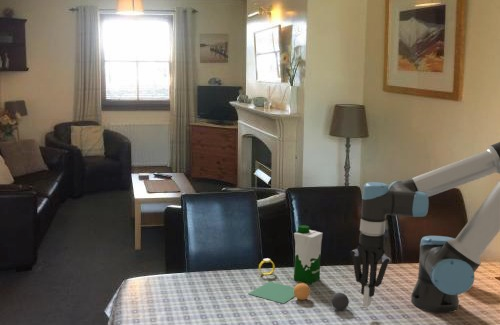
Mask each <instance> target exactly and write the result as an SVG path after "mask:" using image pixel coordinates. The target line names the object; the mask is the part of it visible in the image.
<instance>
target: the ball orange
mask: <svg viewBox="0 0 500 325" xmlns="http://www.w3.org/2000/svg"><path fill="white" fill-rule="evenodd" d="M293 288H294V295H295V298H296V299H297V300H300V301H303V300H307V299H308V298H309V296H310V294H311V289H310V287H309V284H306V283H303V282H299V283H298V284H296V285H295V286H294V287H293Z"/></svg>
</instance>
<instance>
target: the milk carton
mask: <svg viewBox="0 0 500 325" xmlns="http://www.w3.org/2000/svg"><path fill="white" fill-rule="evenodd" d="M293 236H294V244H295V246H294V247H295V248H294V250H295V251H294V270H293V271H294V272H293V281H296V282H299V283H304V284H306V285H311V284H313V283H316V282H318V281H320V277H321V256H322V255H321V253H322V252H321V251H322V240H323V232H320V231H317V230H312V229H310V226H309V225H306V224H300V225H298V226H297V231H296V232H294V233H293Z"/></svg>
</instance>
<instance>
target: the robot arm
mask: <svg viewBox="0 0 500 325" xmlns="http://www.w3.org/2000/svg"><path fill="white" fill-rule="evenodd" d="M495 173H497V174H499V175H500V141H499V142H496V143H494V144H491V145H489V146H487V148H486V150H484V151H482V152H479V153H476V154H473V155H471V156H468V157H465V158H463V159H461V160H457V161H454V162H452V163H449V164H446V165H443V166H441V167H439V168H435V169H433V170H431V171H427V172H425V173H422V174H419V175H417V176H414V177H412V178H409V179H405V180H403V181H402V180H396V181H393V182H391V183H389V185H388V184H387V183H385V182H384V183H383V182H379V181H369V182H366V183H364V184H363V188H362V195H361V207H360V208H361V210H360V211H361V212H360V224H359V231H360V232H359V236H358V240H359V241H358V246H357V248H355V249H352V250H351V251H350V252H349V254H350V256H351V258H352V263H353V270H354V271H353V272H354V276H355V282H357V283H359V284H361V290H360V294H361V295H363V298H362V299H363V303H362V306H363V307H365V308H368V307H370V305H371V304H372V298H373V297H374V296H375V289H376V288H377V287H380V285H382V282H383V279H384V277H385V274H386V270H387V268H388V265H389V264H390V263H391V262H392V257H390V256H389V257H388V255H387V254H386V252H385V249H384V247H385V232H386V221H387V220H386V218H387V215H388V216H399V217H401V216H402V217H413V218H422V217H423V218H424V217H426V216H427V214H428V211H429V207H430V206H429V204H430V203H429V202H430V201H429V197H432V196H435V195H438V194H440V193H443V192H446V191H448V190H452V189H454V188H457V187H459V186H462V185H466V184H468V183H471V182H474V181H476V180H480V179H481V178H485V177H487V176H491V175H493V174H495ZM499 232H500V180H498V182H497V183H496V185H494V187H493V188H492V190H491V191H490V193H489V194H488V195H487V196H486V197H485V199H484V200H483V202H482V203H481V205H480V206H479V207H478V208H477V210H476V211H475V212H474V213H473V215H472V216H471V217H470V219H469V220H468V221H467V223H466V224H465V225H464V227H463V228H462V229H461V230H460V232H459V233H458V234H457V236H456V237H455V238H454V237H449V236H442V235H426V236H423V237H422V238H421V239H420V244H419V260H418V273H417V274H418V277H417V281H416V284H415V286H413V287H414V288H413V290H412V292H411V299H410V300H411V304H412V305H413V306H414V307H417V308H419V309H421V310H423V311H426V312H431V313H438V314H439V313H440V314H445V313H448V314H449V313H453V312H455V311H456V312H457V310H458V309H459V306H460V304H459V303H460V300H459V295H462V294H464V293H466V292H468V291H469V290H470V289H471V288H472V287H473V285H474V282H475V272H476V271H477V270H478V268H479V267H480V266H481V264H482V263H481V256H482V255H483V253H484V251H485V250H487V248H488V246H490V244H491V242H492V241H493V240H494V239H495V237H497V235H498V233H499ZM360 257H361V259H362V260H360ZM380 260H381V262H382V263H381V265H380V268H379V271H378V273H377V270H378V268H377V267H378V263H379V261H380ZM361 261H362V262H361ZM361 263H362V265H361ZM361 266H362V267H361ZM369 268H370V270H369Z"/></svg>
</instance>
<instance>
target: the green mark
mask: <svg viewBox="0 0 500 325" xmlns="http://www.w3.org/2000/svg"><path fill="white" fill-rule="evenodd" d="M294 288H295V287H293V286H288V285H285V284H281V283H277V282H274V281H268V282H266V283H264V284H262V285H260V286H259V287H257V288H256V289H253V290H252V291H250V292H248V295H250V296H252V297H253V296H254V297H258V298H261V299H265V300H268V301H272V302H276V303H279V304H281V305H284V304H285V303H287V302H289V301H290V300H292V299H293V298H296V296H295V295H294Z"/></svg>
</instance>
